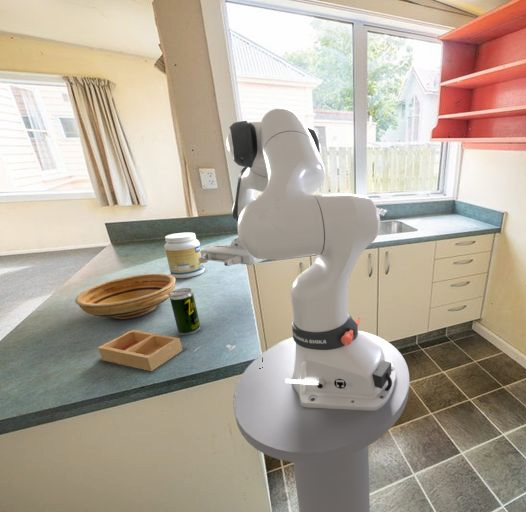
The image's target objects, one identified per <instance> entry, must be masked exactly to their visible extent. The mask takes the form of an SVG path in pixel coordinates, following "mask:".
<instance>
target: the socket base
mask: <svg viewBox="0 0 526 512" xmlns="http://www.w3.org/2000/svg"><path fill="white" fill-rule="evenodd" d="M97 349H98V352H99V356H100V358H101V360H102V361H103V362H104V361H105V362H109V363H113V364H118V365H123V366H126V367H131V368H135V369H140V370H144V371H148V372H152V371H154V370H156V369H157V368H159V367H160V366H162V365H163V364H164V363H166V362H167V361H170V360H171V359H173V358H174V357H175V356H176V355H179V354H180V353H181V352H182V351H183V347H182V342H181V338H180V337H174V336H169V335H165V334H164V335H163V334H160V333H159V334H158V333H153V332H148V331H142V330H137V329H131V330H129V331H127V332H125V333H124V334H121V335H119V336H118V337H115V338H114V339H112V340H110V341H108V342H106V343H104V344H102V345H100V346H98V347H97Z"/></svg>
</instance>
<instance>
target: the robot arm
mask: <svg viewBox="0 0 526 512" xmlns="http://www.w3.org/2000/svg"><path fill="white" fill-rule="evenodd" d="M226 148H227V151H228V153H229V155H230V156H231V158H232V161H233V162H234V163H235V164H236V165H237V166H239V167H243V168H242V169H241V171H240V173H239V175H238V179H237V186H236V193H235V199H234V203H233V204H232V208H231V215H232V218H233V220H234V221H235V222H237V225H236V226H237V229H236V231H237V235H238V237H236V238H234V239H233V240H231V242H230V244H214V245H210V246H206V247H203V248H201V250H200V254H201V257H199V258H198V260H199V263H204V264H205V263H208V262H209V261H211V262H221V263H224V264H223V265H224V266H226V267H230V266H234V265H246V266H247V265H248V266H252V265H257V264H259V263H261V262H265V261H267V260H274V261H275V260H276V261H277V260H278V261H279V260H280V261H285V260H291V259H298V258H305V257H310V256H316V258H315V260H314V261H313V263H311V265H310V266H309V267H308V268H306V269H305V270H303V271H302V272H301V273H300V274H298V275H297V277H296V278H295V279H294V280H293V282H292V285H291V288H290V299H291V307H292V321H291V328H292V329H291V331H292V337H293V339H294V341H295V344H296V355H295V367H294V372H293V376H292V379H286V380H285V382H286V383H292V384H293V387H294V389H295V390H296V391H297V392H298V394H299V396H300V404H301V405H302V406H303V407H310V408H329V409H348V410H367V411H376V410H378V409H379V408H381V407H382V406H383V405H384V404H385V403H386V402H387V400H388V399H389V397H390V396H391V394H392V391H393V389H394V385H395V381H396V370H395V366H394V364H393V362H391V361H388V360H385V356H384V353H383V350H382V348H381V347H380V346H379V345H378V344H376V343H375V342H374V341H372V340H371V339H369V338H368V337H367V336H365V335H364V334H362V333H361V332H360V331H361V330H359V329H358V328H359V327H358V326H359V325H360V324H361V323H360V322H361V320H360V318H361V317H360V316H359V317H358V318H357V319H356V320H354V319H353V318H352V315H351V313H350V311H349V293H350V292H349V288H350V280H351V276H352V273H353V270H354V268H355V266H356V264H357V262H358V260H359V258H360V256H361V255H362V254H363V252H365V250H366V249H367V248H368V247H369V246H370V245H371V244H372V243H374V241H375V240H376V238H377V236H378V235H379V232H380V228H381V216H380V212H379V210H378V207H377V205H376V204H375V203H374V201H373V200H372V199H371V198H370V197H368V196H365V195H360V194H354V193H353V194H352V193H329V194H327V193H326V194H316V193H317V192H318V191H319V190H320V188H322V186H323V183H324V181H325V178H326V169H325V166H324V163H323V161H322V159H321V141H320V137H319V135H318V134H317V132H316V131H315V129H313V128H311V127H308V126H306V124H305V123H304V122H303V120H302V119H301V118H300V116H298V115H297V114H296V113H295V112H294V111H293V110H291V109H288V108H281V107H279V108H278V107H277V108H274V109H271V110H269V111H267V112H266V113H265V114H264V116H263V117H262V118H261V121H248V120H241V121H235V122H233V123H232V124H231V125H230V126H229V127H228V132H227V135H226ZM256 191H258V192H261V194H260V195H259V196H257V197H256V198H255V192H256ZM358 330H359V331H358ZM381 398H382V399H381Z"/></svg>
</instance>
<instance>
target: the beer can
mask: <svg viewBox="0 0 526 512" xmlns="http://www.w3.org/2000/svg"><path fill="white" fill-rule="evenodd" d="M169 301H170V305H171V308H172V313H173V317H174V320H175V324H176V329H177V331H178V333H179V334H180V335H182V336H188V335H193V334H194V333H197V332H198V331H200V328H201V321H200V318H199V314H198V307H197V305H196V304H197V303H196V299H195V295H194V292H193V291H192V288H189V287H184V288H182V287H181V288H178V289H174V291H173V292H171V293H170V297H169Z"/></svg>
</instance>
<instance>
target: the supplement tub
mask: <svg viewBox="0 0 526 512" xmlns="http://www.w3.org/2000/svg"><path fill="white" fill-rule="evenodd" d="M164 241H165V244H164V245H163V247H164V248H163V249H164V252H165V256H166V260H167V263H168V268H169V273H170V274H169V275H171V276H173V277H174V278H175V279H188V278H193V277H196V276H199V275H201V274H203V273H204V272H205V269H206V268H205V263H199V260H198V258H199V257H201V254H200V250H201V249H202V248H201V244H200V241H199V240H198V239H197V236H196V233H195V232H177V233H172V234H171V233H170V234H167V235H165V236H164Z"/></svg>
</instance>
